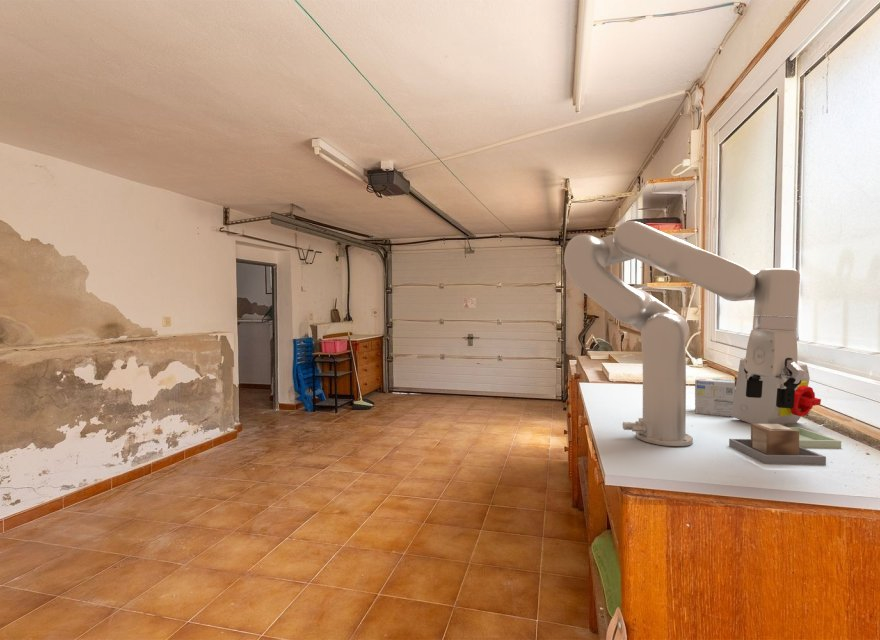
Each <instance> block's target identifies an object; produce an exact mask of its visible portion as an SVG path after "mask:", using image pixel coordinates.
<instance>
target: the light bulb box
mask: <svg viewBox="0 0 880 640" xmlns="http://www.w3.org/2000/svg"><path fill="white" fill-rule="evenodd" d="M694 383H695V384H694V405H695V406H694V407H695V409H694V413H695V414H702V415H709V416H710V415H712V416H719V415H720V417H721V416H722V417H729V416H731V413H732V407H733V401H734V395H735V389H736V383H735V380H734V379H726V378H709V377H708V378H707V377H698V376H696V378H695V381H694ZM731 418H733V417H732V416H731Z"/></svg>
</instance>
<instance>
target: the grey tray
mask: <svg viewBox="0 0 880 640" xmlns="http://www.w3.org/2000/svg"><path fill="white" fill-rule="evenodd" d="M728 443H729V444H728V446H729V447H731V448H733V449H735V450H737V451H739V452H740V453H742V454H745V455H747V456H749V457H751V458H752V459H755V460H757V461H759V462H761V463H762V464H765V465H767V464H770V465H773V464H776V465H777V464H778V465H811V466H812V465H817V466H818V465H819V466H823V465H824V466H826V464H827V456H825V455H823V454H820V453H817V452H815V451H812V450H810V449H809V448H803V447H800V446H799V455H765V454H763V453H761V452H759V451H757V450H755V449H752V448H751V438H729V440H728Z"/></svg>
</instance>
